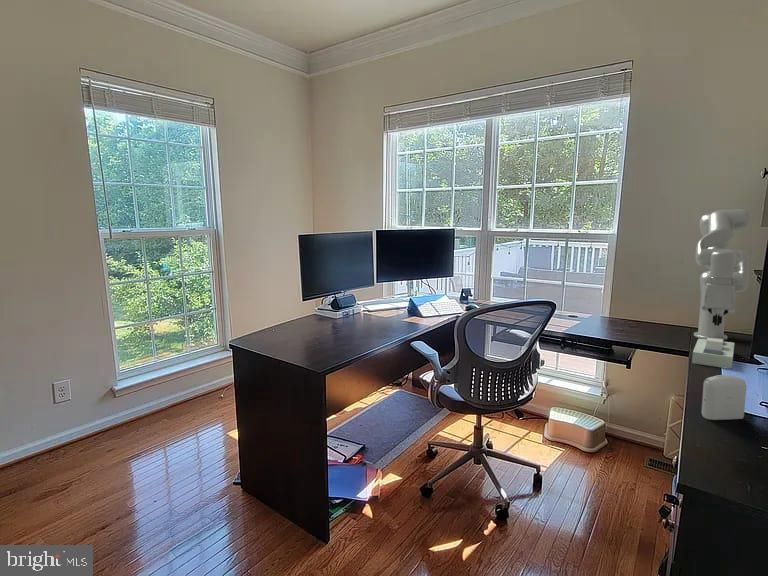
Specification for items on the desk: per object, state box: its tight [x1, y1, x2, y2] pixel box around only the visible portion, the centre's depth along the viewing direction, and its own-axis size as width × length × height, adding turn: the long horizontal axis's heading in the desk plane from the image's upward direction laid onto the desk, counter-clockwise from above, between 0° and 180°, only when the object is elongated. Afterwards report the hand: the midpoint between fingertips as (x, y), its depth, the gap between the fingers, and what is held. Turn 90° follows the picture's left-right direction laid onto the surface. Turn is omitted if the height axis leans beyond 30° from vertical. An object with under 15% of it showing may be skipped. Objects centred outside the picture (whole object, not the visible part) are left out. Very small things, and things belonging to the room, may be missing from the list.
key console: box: [691, 338, 735, 369], centre depth 169 cm, size 24×12×4 cm, turn 139°
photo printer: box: [700, 374, 747, 421], centre depth 118 cm, size 10×4×12 cm, turn 90°
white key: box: [706, 338, 723, 348], centre depth 169 cm, size 5×5×4 cm
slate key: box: [704, 346, 722, 355], centre depth 163 cm, size 5×5×4 cm
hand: (716, 324), depth 174 cm, fingers closed
